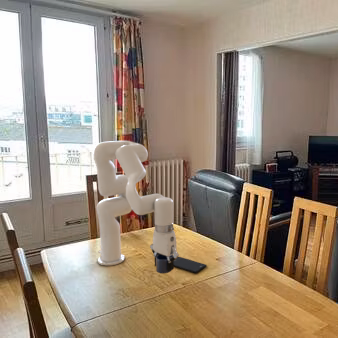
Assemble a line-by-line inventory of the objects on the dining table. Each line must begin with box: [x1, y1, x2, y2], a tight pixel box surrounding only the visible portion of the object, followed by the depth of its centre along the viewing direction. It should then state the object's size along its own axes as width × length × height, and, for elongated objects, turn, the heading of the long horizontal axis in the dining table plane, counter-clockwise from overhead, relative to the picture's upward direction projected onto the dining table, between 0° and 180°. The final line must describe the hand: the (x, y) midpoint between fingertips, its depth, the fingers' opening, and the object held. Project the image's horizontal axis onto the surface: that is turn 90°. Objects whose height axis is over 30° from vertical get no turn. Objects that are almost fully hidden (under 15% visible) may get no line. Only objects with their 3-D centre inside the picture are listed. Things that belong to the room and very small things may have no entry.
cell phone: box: [174, 256, 207, 274], centre depth 159 cm, size 9×18×1 cm, turn 59°
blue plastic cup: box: [155, 254, 173, 274], centre depth 138 cm, size 7×7×6 cm
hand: (164, 267), depth 138 cm, fingers closed on blue plastic cup, 6 cm apart
